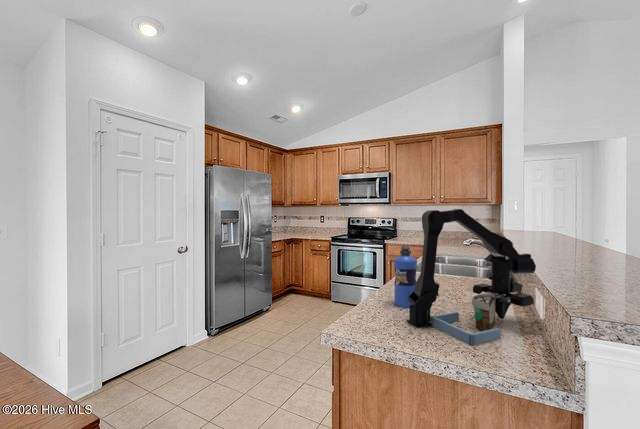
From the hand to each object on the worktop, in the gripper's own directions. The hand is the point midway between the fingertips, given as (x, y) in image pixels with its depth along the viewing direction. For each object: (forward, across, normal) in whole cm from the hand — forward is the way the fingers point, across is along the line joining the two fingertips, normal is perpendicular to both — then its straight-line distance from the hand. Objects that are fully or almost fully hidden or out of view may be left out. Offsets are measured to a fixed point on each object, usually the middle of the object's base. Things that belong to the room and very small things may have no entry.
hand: (501, 318), depth 104 cm
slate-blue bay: (+1, 0, +18) cm, 18 cm away
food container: (+2, 0, +9) cm, 9 cm away
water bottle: (+2, +30, +17) cm, 35 cm away
